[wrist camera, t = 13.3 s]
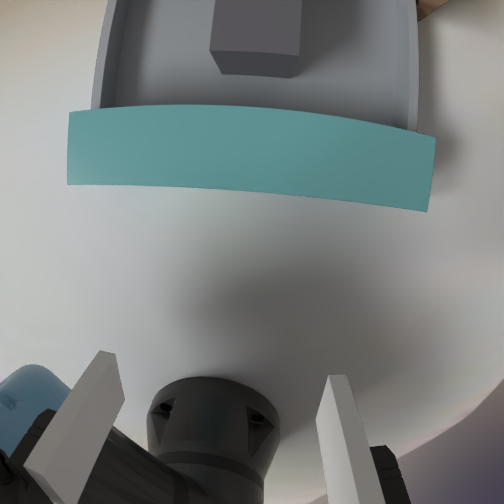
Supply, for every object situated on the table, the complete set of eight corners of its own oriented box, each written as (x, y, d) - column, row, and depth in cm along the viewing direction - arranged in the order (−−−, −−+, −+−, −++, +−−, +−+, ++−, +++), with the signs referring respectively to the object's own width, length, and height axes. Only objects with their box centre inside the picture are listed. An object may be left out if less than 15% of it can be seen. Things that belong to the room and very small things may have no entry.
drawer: (393, 198, 24) (427, 212, 18) (105, 176, 24) (67, 184, 18) (397, -33, 17) (421, -62, 11) (138, -50, 17) (116, -80, 11)
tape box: (289, 78, 21) (298, 55, 15) (221, 74, 21) (209, 50, 15) (294, 1, 18) (303, -36, 13) (230, -2, 18) (221, -40, 13)
